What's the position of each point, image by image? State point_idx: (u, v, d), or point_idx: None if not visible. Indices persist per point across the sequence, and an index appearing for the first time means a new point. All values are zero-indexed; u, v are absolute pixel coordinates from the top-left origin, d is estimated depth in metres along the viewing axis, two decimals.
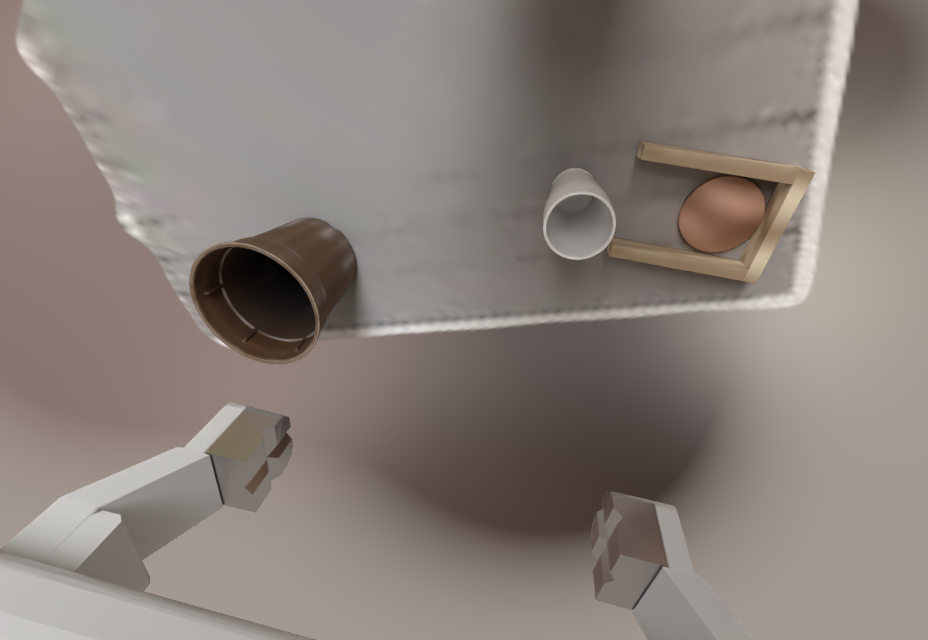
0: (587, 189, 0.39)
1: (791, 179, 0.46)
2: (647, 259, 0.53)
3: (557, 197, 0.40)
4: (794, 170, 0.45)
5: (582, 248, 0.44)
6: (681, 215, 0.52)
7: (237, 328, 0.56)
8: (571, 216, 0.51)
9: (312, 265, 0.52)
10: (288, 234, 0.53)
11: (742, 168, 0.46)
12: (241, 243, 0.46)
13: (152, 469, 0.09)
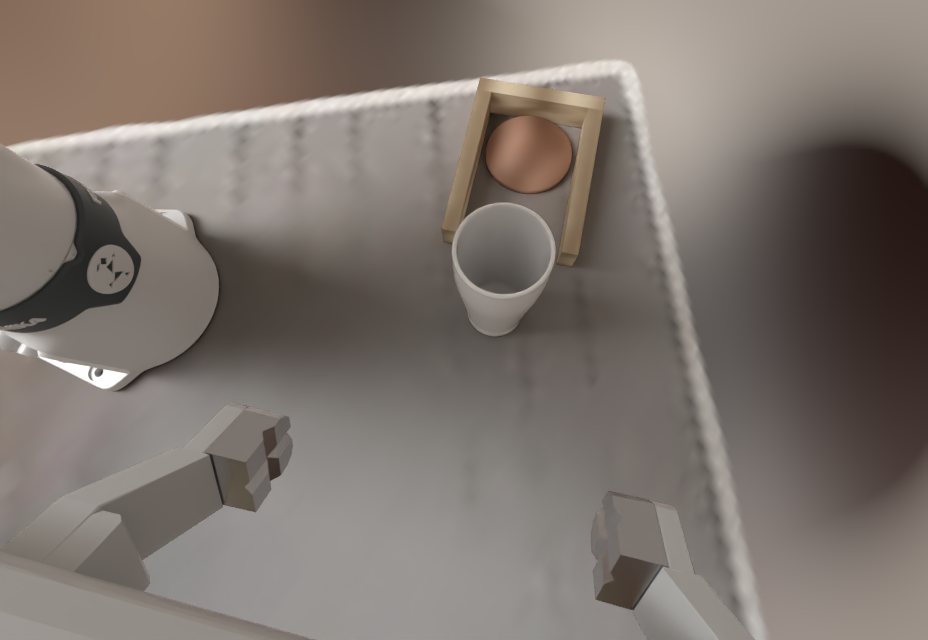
0: None
1: (486, 94, 0.44)
2: (580, 210, 0.41)
3: (462, 283, 0.28)
4: (477, 93, 0.44)
5: (545, 254, 0.30)
6: (527, 189, 0.44)
7: None
8: None
9: None
10: None
11: (473, 135, 0.43)
12: None
13: (152, 469, 0.09)
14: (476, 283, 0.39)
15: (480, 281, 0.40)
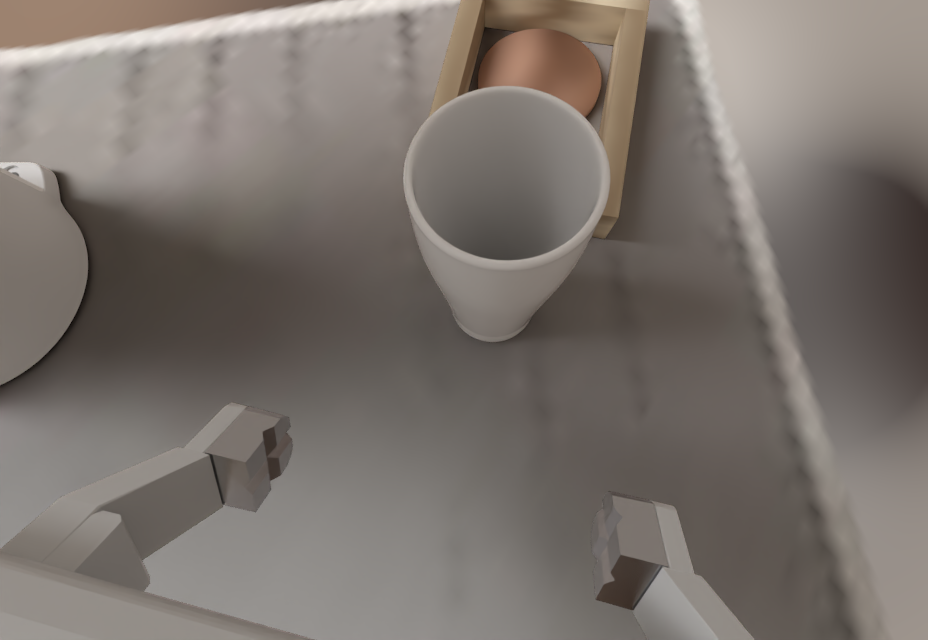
0: None
1: None
2: (619, 152, 0.27)
3: (424, 241, 0.14)
4: None
5: (582, 194, 0.16)
6: None
7: None
8: None
9: None
10: None
11: (459, 48, 0.30)
12: None
13: (152, 469, 0.09)
14: None
15: None
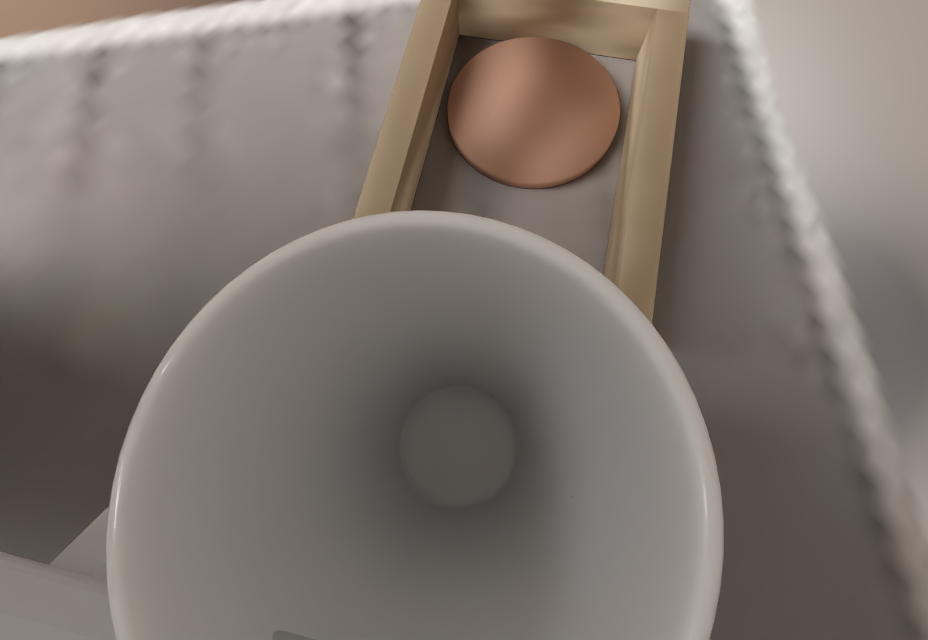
0: None
1: None
2: (651, 224, 0.18)
3: None
4: None
5: (617, 428, 0.07)
6: (531, 180, 0.22)
7: None
8: (524, 452, 0.16)
9: None
10: None
11: (416, 66, 0.21)
12: None
13: None
14: (412, 399, 0.16)
15: (422, 393, 0.17)
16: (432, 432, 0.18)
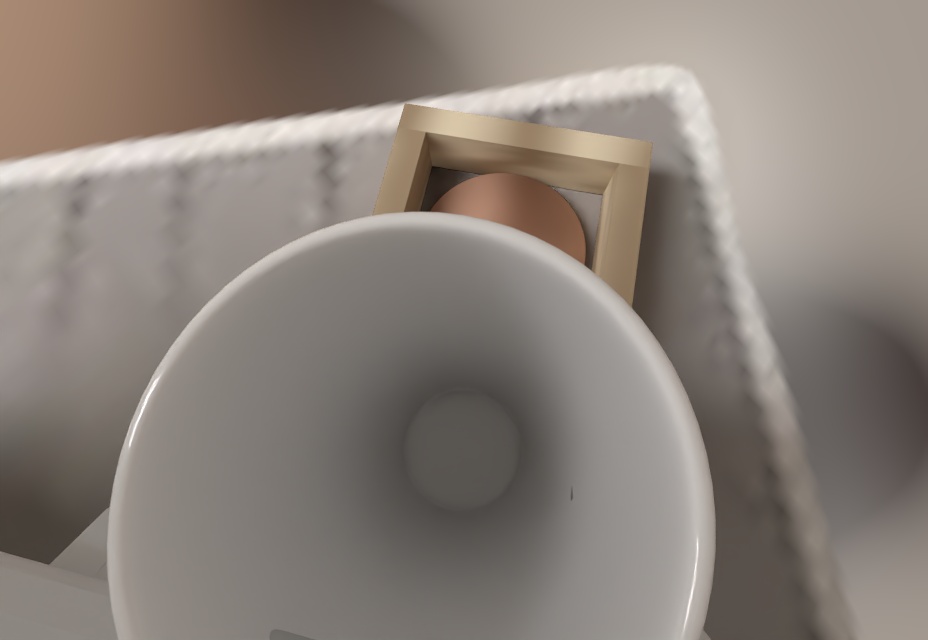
0: None
1: (415, 136, 0.22)
2: None
3: None
4: (398, 135, 0.22)
5: (614, 427, 0.07)
6: None
7: None
8: (527, 454, 0.16)
9: None
10: None
11: None
12: None
13: None
14: (415, 402, 0.17)
15: (425, 395, 0.17)
16: (435, 434, 0.18)
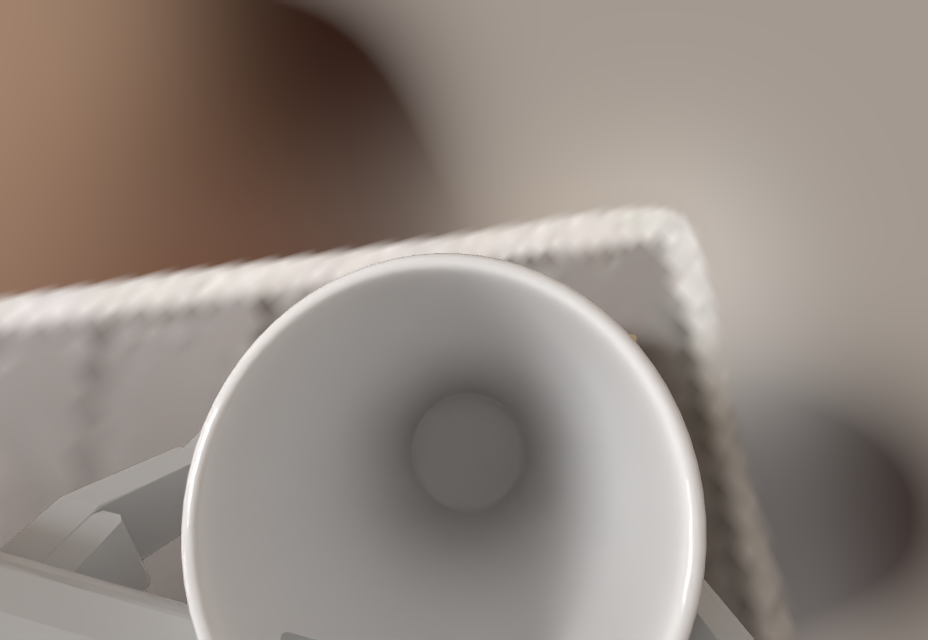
0: None
1: None
2: None
3: None
4: None
5: (616, 436, 0.08)
6: None
7: None
8: (530, 455, 0.17)
9: None
10: None
11: None
12: None
13: (152, 469, 0.09)
14: (422, 408, 0.17)
15: (432, 401, 0.18)
16: (442, 438, 0.18)
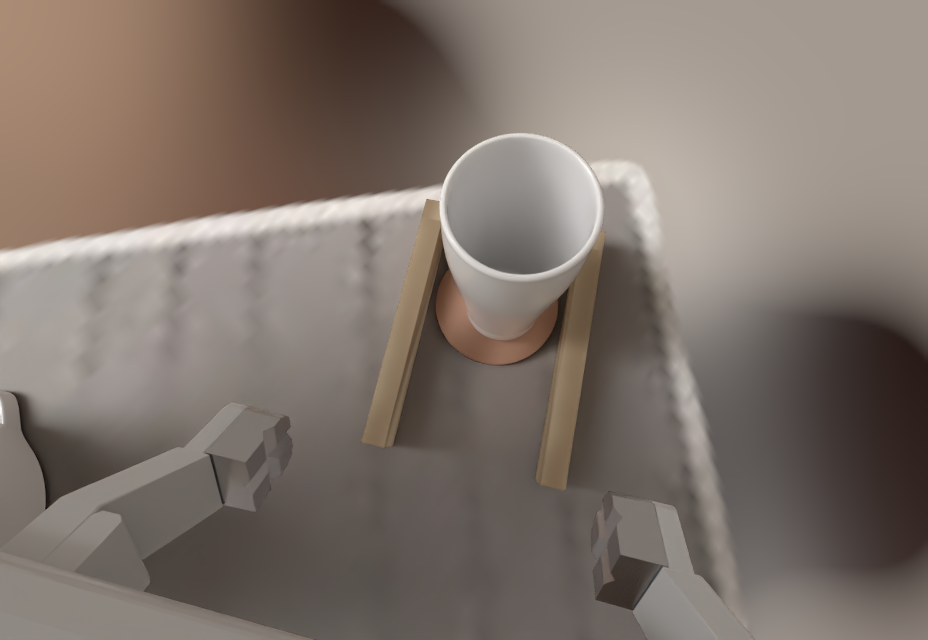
0: None
1: (434, 224, 0.31)
2: (569, 414, 0.27)
3: (457, 260, 0.18)
4: (421, 223, 0.31)
5: (581, 216, 0.20)
6: (493, 362, 0.31)
7: None
8: None
9: None
10: None
11: (413, 289, 0.30)
12: None
13: (152, 469, 0.09)
14: None
15: None
16: None
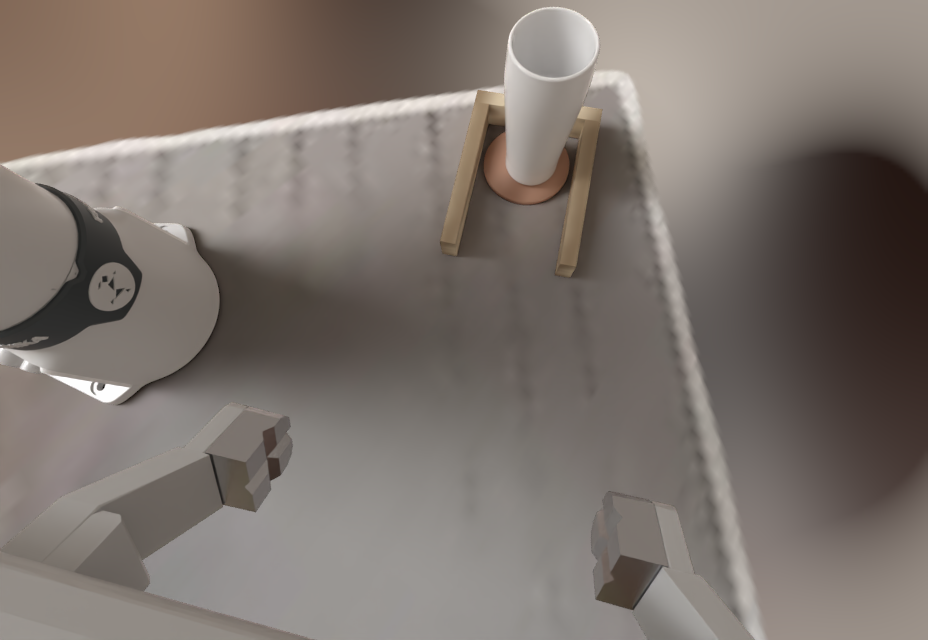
0: None
1: (483, 106, 0.45)
2: (578, 222, 0.41)
3: (518, 77, 0.31)
4: (475, 106, 0.45)
5: (587, 62, 0.33)
6: (525, 201, 0.44)
7: None
8: None
9: None
10: None
11: (471, 147, 0.43)
12: None
13: (152, 469, 0.09)
14: None
15: None
16: None
